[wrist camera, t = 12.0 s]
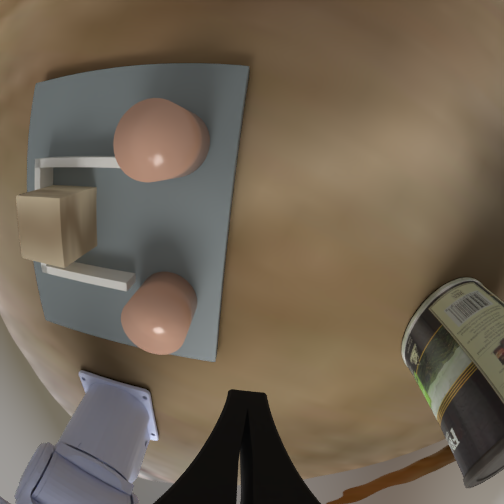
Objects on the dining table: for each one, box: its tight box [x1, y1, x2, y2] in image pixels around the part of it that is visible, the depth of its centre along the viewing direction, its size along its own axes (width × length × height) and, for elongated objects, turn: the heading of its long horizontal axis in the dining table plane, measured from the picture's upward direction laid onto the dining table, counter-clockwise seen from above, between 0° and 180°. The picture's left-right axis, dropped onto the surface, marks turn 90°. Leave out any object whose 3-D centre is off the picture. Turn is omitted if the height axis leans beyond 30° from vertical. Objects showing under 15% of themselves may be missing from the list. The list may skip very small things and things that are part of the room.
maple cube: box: [16, 185, 97, 268], centre depth 15 cm, size 4×4×4 cm
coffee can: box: [402, 277, 504, 488], centre depth 13 cm, size 10×10×14 cm
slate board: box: [27, 63, 250, 362], centre depth 17 cm, size 20×16×1 cm
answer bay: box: [35, 156, 136, 291], centre depth 16 cm, size 8×8×2 cm
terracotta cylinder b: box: [113, 98, 210, 182], centre depth 13 cm, size 4×4×4 cm
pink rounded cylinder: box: [121, 272, 197, 355], centre depth 17 cm, size 4×4×4 cm
